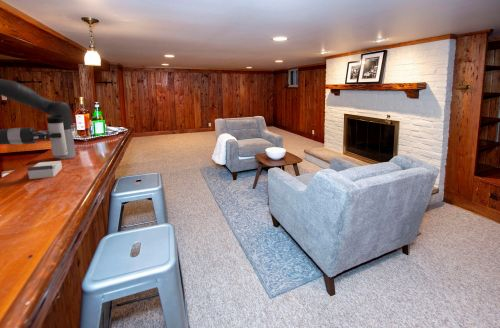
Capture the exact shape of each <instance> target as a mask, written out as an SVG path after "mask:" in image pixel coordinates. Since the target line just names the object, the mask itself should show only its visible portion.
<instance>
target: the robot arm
mask: <svg viewBox="0 0 500 328" xmlns="http://www.w3.org/2000/svg"><path fill="white" fill-rule="evenodd" d="M0 96H2V97H4V98H7V99H9V100H12V101H13V102H17V103H19V104H22V105H25V106H28V107H30V108H34V109H36V110H39V111H41V112H43V113H45V114H46V115H48V116H49V117H51V116H57V115H62V121H63V126H64V133H65V139H66V146H67V153H68V156H67V157H63V158H58V159H59V160H68V159H74V158H76V157H77V155H76V146H75V142H74V136H73V134H74V133H73V130H72V126H73V125H72V124H73V119H72V110H71V107H70V105H69V104H68V103H67V102H64V101H55V100H50V99H48V98H45V97H43V96H41V95H39V94H38V93H37V92H36V91H35V90H33V89H32V88H30V87H28V86H26V85H24V84H22V83H19V82H17V81H14V80H9V79H3V78H0ZM61 137H62V136H61V133H52V134H51V133H49V129H48V130H37V131H36V130H35V128H34V127H13V128H0V145H29V144H35V143H36V142H37V141H44V140H47V141H48V140H50V139H52V138H61Z"/></svg>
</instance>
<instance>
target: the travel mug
mask: <svg viewBox="0 0 500 328" xmlns="http://www.w3.org/2000/svg"><path fill="white" fill-rule="evenodd" d="M46 120H47V121H46V122H47V129H48V130H49V133H51V134H52V133H61V136H62V137H61V138H52V139H49V140H50V144H51V146H50V147H51V152H52V156H53V158H54V159H59V158H63V157H67V156H68V153H67V146H66V139H65V133H64V126H63V121H62V115H57V116H48V117H46Z"/></svg>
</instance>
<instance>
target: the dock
mask: <svg viewBox="0 0 500 328" xmlns="http://www.w3.org/2000/svg"><path fill="white" fill-rule="evenodd" d="M62 165H63V164H62V161H61V160H57V161H42V162H41V161H40V162H38V163H36V164H35V165H33V166H27V167H26V169H27V174H28V178H29V180H32V179H45V178H54V177H55V176H56V175H57V174H58V173H59V172H60V171H61V170H62V169H63V166H62Z"/></svg>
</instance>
